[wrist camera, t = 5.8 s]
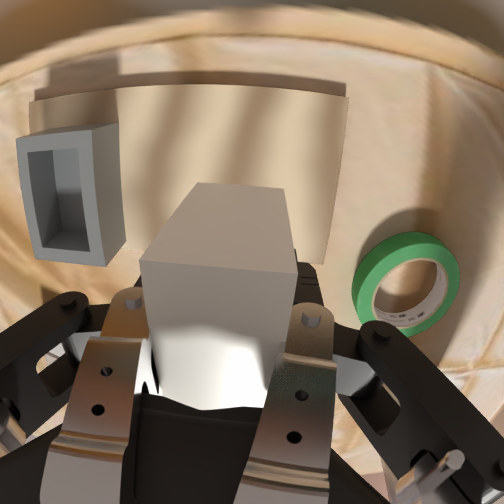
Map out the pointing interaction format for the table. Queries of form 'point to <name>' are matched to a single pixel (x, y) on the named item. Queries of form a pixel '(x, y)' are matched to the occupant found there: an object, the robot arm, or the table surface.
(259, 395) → the white block
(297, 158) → the beige mat
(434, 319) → the tape roll
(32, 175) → the end holder
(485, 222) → the table surface
